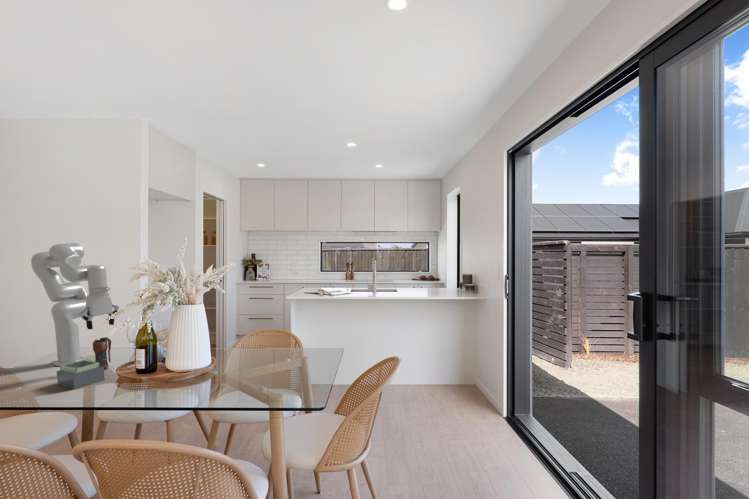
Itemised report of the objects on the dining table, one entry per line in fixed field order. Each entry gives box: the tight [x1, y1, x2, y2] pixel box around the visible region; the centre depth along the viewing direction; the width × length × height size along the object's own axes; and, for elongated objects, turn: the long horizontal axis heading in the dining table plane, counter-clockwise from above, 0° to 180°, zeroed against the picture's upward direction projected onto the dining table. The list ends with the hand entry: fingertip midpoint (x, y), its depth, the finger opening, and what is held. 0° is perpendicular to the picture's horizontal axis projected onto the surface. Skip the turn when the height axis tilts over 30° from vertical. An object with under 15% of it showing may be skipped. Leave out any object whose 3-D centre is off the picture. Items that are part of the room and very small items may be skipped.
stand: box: [56, 359, 106, 390], centre depth 183 cm, size 14×12×8 cm
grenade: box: [92, 336, 112, 370], centre depth 201 cm, size 6×8×15 cm
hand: (101, 326), depth 201 cm, fingers open, 9 cm apart
